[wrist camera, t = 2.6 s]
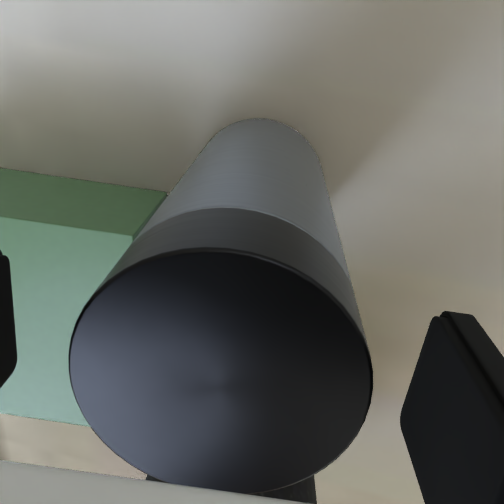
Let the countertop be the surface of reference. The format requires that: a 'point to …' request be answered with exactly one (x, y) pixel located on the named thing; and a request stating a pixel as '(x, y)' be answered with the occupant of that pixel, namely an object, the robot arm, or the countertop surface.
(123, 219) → the green block
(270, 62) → the countertop surface
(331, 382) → the steel flask
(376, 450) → the countertop surface
